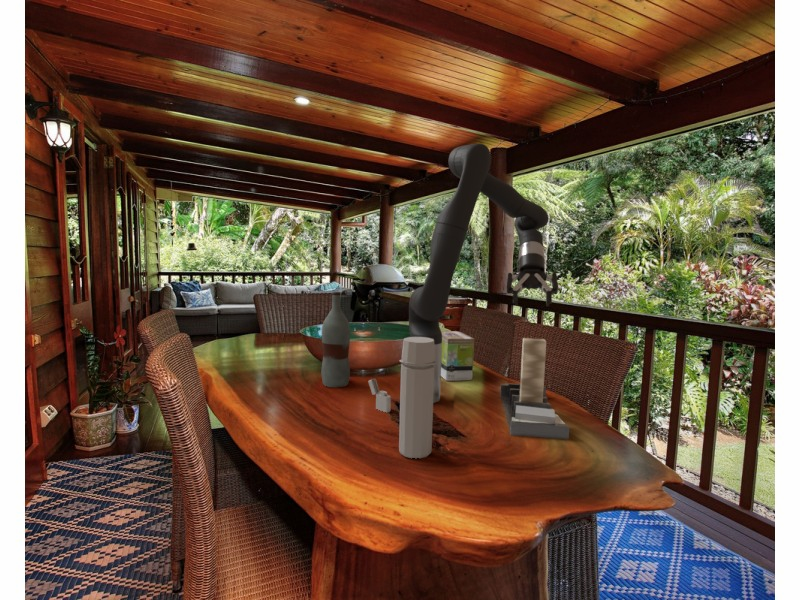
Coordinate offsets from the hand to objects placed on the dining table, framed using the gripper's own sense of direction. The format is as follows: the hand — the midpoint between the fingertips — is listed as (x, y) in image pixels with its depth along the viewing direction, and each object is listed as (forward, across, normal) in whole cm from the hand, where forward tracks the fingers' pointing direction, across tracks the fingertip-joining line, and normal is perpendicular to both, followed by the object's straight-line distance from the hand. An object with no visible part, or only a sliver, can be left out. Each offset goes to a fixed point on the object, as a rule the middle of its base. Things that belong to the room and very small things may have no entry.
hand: (532, 304), depth 128 cm
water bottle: (+47, -26, -11) cm, 55 cm away
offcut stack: (+36, +1, +1) cm, 36 cm away
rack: (+30, 0, +10) cm, 32 cm away
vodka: (+20, -61, +19) cm, 67 cm away
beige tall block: (+29, 0, +9) cm, 30 cm away
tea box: (+5, -26, +38) cm, 46 cm away
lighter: (+32, -41, +6) cm, 52 cm away
